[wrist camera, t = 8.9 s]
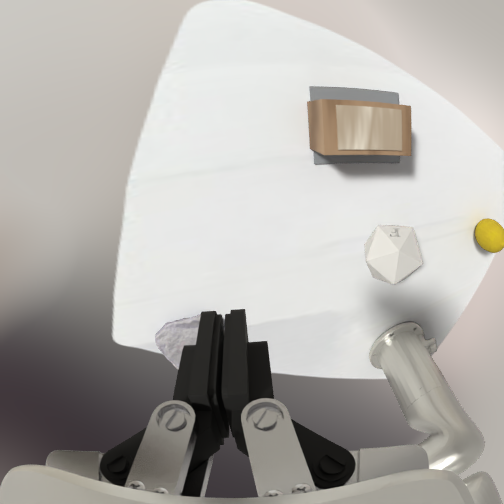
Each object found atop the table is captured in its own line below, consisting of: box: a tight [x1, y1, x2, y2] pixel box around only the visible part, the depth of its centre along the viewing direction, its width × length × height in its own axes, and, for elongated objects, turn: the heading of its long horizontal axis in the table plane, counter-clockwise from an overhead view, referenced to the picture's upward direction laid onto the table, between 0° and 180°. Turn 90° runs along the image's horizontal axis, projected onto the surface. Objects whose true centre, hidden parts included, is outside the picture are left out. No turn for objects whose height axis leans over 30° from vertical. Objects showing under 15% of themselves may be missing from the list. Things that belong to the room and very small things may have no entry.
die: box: [364, 225, 423, 285], centre depth 36 cm, size 8×9×10 cm
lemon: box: [475, 219, 504, 253], centre depth 36 cm, size 6×6×8 cm
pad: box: [310, 86, 400, 164], centre depth 32 cm, size 13×10×1 cm
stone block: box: [155, 315, 225, 370], centre depth 45 cm, size 12×5×10 cm
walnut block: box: [307, 99, 411, 156], centre depth 29 cm, size 6×6×11 cm
